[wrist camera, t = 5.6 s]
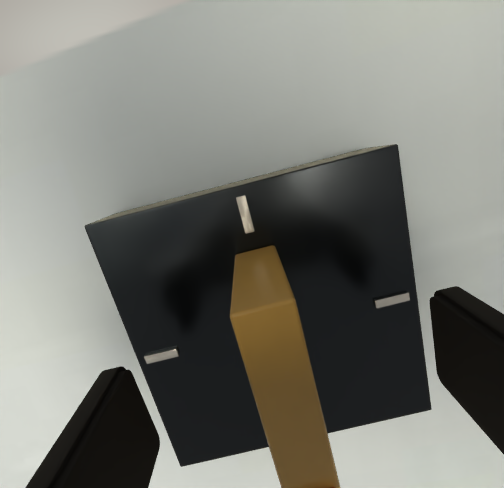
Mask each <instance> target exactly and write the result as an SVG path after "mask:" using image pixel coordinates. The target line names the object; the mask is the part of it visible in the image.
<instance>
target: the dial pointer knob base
mask: <svg viewBox="0 0 504 488" xmlns="http://www.w3.org/2000/svg"><path fill="white" fill-rule="evenodd" d="M85 229H86V232H87V234H88V237H89V239H90V242H91V244H92V247H93V249H94V252H95V254H96V257H97V259H98V262H99V264H100V267H101V269H102V272H103V274H104V277H105V279H106V282H107V284H108V287H109V289H110V291H111V294H112V296H113V299H114V301H115V304H116V306H117V309H118V311H119V314H120V316H121V319H122V321H123V324H124V326H125V329H126V331H127V334H128V336H129V339H130V341H131V344H132V346H133V349H134V351H135V354H136V356H137V359H138V361H139V364H140V366H141V369H142V371H143V374H144V376H145V379H146V381H147V384H148V386H149V389H150V391H151V394H152V396H153V399H154V401H155V404H156V406H157V409H158V411H159V414H160V416H161V419H162V421H163V424H164V426H165V428H166V431H167V433H168V436H169V438H170V441H171V443H172V446H173V448H174V451H175V453H176V456H177V458H178V461H179V463H180V466H181V467H182V466H187V465H191V464H196V463H200V462H204V461H209V460H213V459H217V458H222V457H226V456H231V455H235V454H239V453H244V452H248V451H252V450H257V449H261V448H266V447H269V445H268V442H267V438H266V435H265V432H264V428H263V425H262V422H261V418H260V415H259V412H258V409H257V405H256V402H255V399H254V395H253V392H252V389H251V385H250V382H249V379H248V376H247V372H246V369H245V366H244V362H243V359H242V356H241V352H240V349H239V346H238V342H237V339H236V336H235V333H234V329H233V326H232V323H231V319H230V308H231V297H232V286H233V274H234V263H235V255H237V254H240V253H244V252H248V251H252V250H256V249H260V248H264V247H268V246H272V245H273V246H275V248H276V250H277V253H278V256H279V258H280V261H281V263H282V266H283V269H284V271H285V274H286V277H287V279H288V282H289V284H290V287H291V290H292V292H293V295H294V298H295V300H296V304H297V308H298V313H299V317H300V321H301V325H302V329H303V333H304V338H305V342H306V346H307V350H308V354H309V359H310V363H311V367H312V371H313V375H314V380H315V384H316V388H317V392H318V396H319V400H320V405H321V409H322V413H323V417H324V421H325V426H326V430H327V433H331V432H336V431H340V430H344V429H349V428H353V427H358V426H362V425H366V424H371V423H375V422H379V421H384V420H388V419H393V418H397V417H401V416H406V415H410V414H415V413H419V412H423V411H428V410H431V402H430V394H429V386H428V378H427V371H426V363H425V355H424V347H423V339H422V332H421V324H420V316H419V308H418V300H417V292H416V285H415V277H414V269H413V261H412V253H411V245H410V238H409V230H408V222H407V214H406V206H405V198H404V191H403V183H402V175H401V167H400V159H399V151H398V145H397V144H394V145H386V146H378V147H370V148H364V149H360V150H356V151H352V152H349V153H345V154H341V155H337V156H333V157H330V158H326V159H322V160H318V161H314V162H310V163H307V164H303V165H299V166H295V167H291V168H287V169H284V170H280V171H276V172H272V173H268V174H265V175H261V176H257V177H253V178H249V179H245V180H242V181H238V182H234V183H230V184H226V185H222V186H219V187H215V188H211V189H207V190H203V191H200V192H196V193H192V194H188V195H184V196H180V197H177V198H173V199H169V200H165V201H161V202H157V203H154V204H150V205H146V206H142V207H138V208H135V209H131V210H127V211H123V212H119V213H116V214H113V215H111V216H108V217H105V218H103V219H100V220H98V221H95V222H93V223H90V224H88V225H85Z"/></svg>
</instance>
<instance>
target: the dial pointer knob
mask: <svg viewBox="0 0 504 488" xmlns="http://www.w3.org/2000/svg"><path fill="white" fill-rule="evenodd" d="M230 319H231V323H232V326H233V329H234V333H235V336H236V339H237V342H238V346H239V349H240V352H241V356H242V359H243V362H244V366H245V369H246V372H247V376H248V379H249V382H250V385H251V389H252V392H253V395H254V399H255V402H256V405H257V409H258V412H259V415H260V418H261V422H262V425H263V428H264V432H265V435H266V438H267V442H268V445H269V448H270V452H271V455H272V458H273V461H274V465H275V468H276V471H277V475H278V478H279V481H280V485H281V488H340V484H339V480H338V476H337V472H336V467H335V463H334V459H333V455H332V451H331V447H330V442H329V438H328V434H327V430H326V426H325V421H324V417H323V413H322V409H321V405H320V400H319V396H318V392H317V388H316V384H315V380H314V375H313V371H312V367H311V363H310V359H309V354H308V350H307V346H306V342H305V338H304V333H303V329H302V325H301V321H300V317H299V313H298V308H297V304H296V300H295V298H294V295H293V292H292V290H291V287H290V284H289V282H288V279H287V277H286V274H285V271H284V269H283V266H282V263H281V261H280V258H279V256H278V253H277V250H276V248H275V246H273V245H272V246H268V247H264V248H260V249H256V250H252V251H248V252H244V253H240V254H237V255H235V263H234V274H233V286H232V297H231V308H230Z"/></svg>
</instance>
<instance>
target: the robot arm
mask: <svg viewBox="0 0 504 488" xmlns="http://www.w3.org/2000/svg"><path fill="white" fill-rule="evenodd" d="M430 310H431V320H432V330H433V339H434V349H435V359H436V368H437V374H438V377H439V379H440V381H441V383H442V384H443V385H444V386H445V388H446V389H447V390H448V391H449V392H450V393H451V395H452V396H453V397H454V398H455V399H456V400H457V401H458V403H459V404H460V405H461V406H462V407H463V408H464V409H465V411H466V412H467V413H468V414H469V415H470V416H471V417H472V419H473V420H474V421H475V422H476V423H477V424H478V425H479V427H480V428H481V429H482V430H483V431H484V432H485V433H486V435H487V436H488V437H489V438H490V439H491V440H492V441H493V443H494V444H495V445H496V446H497V447H498V448H499V449H500V451H501V452H502V453H503V454H504V314H502V313H501V312H499V311H497V310H496V309H494V308H492V307H491V306H489V305H487V304H486V303H484V302H482V301H481V300H479V299H478V298H476V297H474V296H473V295H471V294H469V293H468V292H466V291H464V290H463V289H461V288H459V287H457V286H456V287H451V288H447V289H442V290H438V291H436V292H435V294H434V297H431V298H430ZM159 447H160V440H159V435H158V433H157V430H156V428H155V426H154V423H153V421H152V419H151V416H150V414H149V412H148V409H147V407H146V405H145V402H144V400H143V398H142V395H141V393H140V391H139V388H138V386H137V384H136V381H135V379H134V377H133V374H132V372H131V371H130V370H126V369H125V368H124V367H117V368H113V369H108V370H104V371H102V372H101V373H100V375H99V376H98V378H97V380H96V381H95V383H94V384H93V386H92V387H91V389H90V390H89V392H88V393H87V395H86V396H85V398H84V399H83V401H82V402H81V404H80V405H79V407H78V408H77V410H76V412H75V413H74V415H73V416H72V418H71V419H70V421H69V422H68V424H67V425H66V427H65V428H64V430H63V431H62V433H61V434H60V436H59V437H58V439H57V441H56V442H55V444H54V445H53V447H52V448H51V450H50V451H49V453H48V454H47V456H46V457H45V459H44V460H43V462H42V463H41V465H40V466H39V468H38V469H37V471H36V473H35V474H34V476H33V477H32V479H31V480H30V482H29V483H28V485H27V486H26V488H148V486H149V483H150V479H151V476H152V472H153V469H154V465H155V462H156V458H157V455H158V451H159Z"/></svg>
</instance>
